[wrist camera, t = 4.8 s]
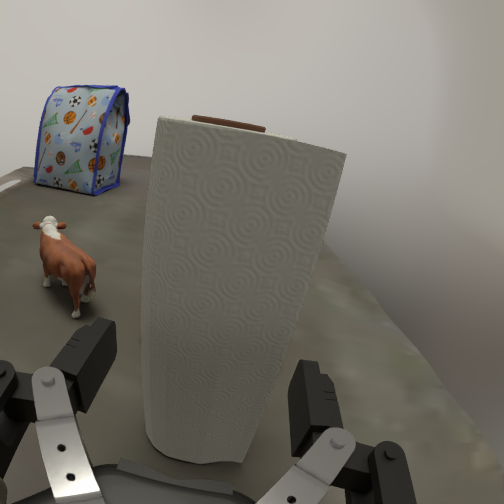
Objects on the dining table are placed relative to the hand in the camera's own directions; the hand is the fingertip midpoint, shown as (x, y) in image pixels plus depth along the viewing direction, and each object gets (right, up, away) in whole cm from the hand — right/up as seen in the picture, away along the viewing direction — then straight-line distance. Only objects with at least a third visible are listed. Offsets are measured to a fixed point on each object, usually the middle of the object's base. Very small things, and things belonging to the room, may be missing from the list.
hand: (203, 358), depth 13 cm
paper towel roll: (-3, -10, +8) cm, 13 cm away
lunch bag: (-44, +22, +60) cm, 78 cm away
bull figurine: (-20, -1, +20) cm, 29 cm away
